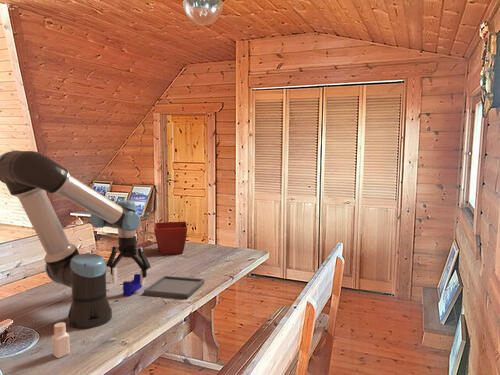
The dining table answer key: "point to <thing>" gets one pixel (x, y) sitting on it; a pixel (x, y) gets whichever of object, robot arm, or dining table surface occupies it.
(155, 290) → the tray
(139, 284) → the cable clip
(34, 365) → the dining table surface
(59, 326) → the salt shaker
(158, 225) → the plant pot
